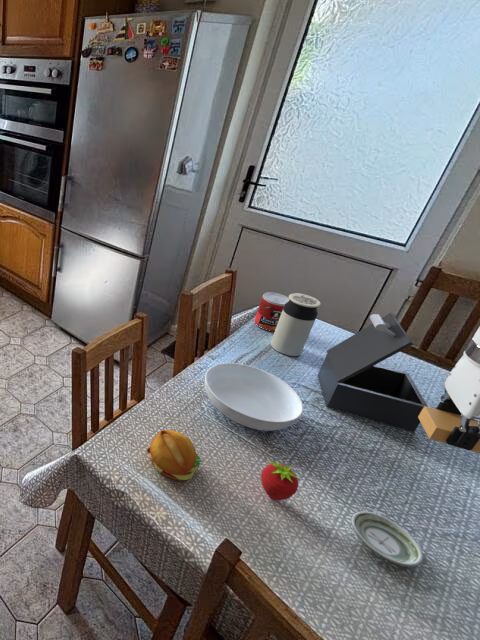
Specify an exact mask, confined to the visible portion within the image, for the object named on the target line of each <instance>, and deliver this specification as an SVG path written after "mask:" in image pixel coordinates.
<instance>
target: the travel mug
mask: <svg viewBox="0 0 480 640" xmlns="http://www.w3.org/2000/svg"><path fill="white" fill-rule="evenodd" d="M288 298H289V301H288V302H287V303H285V305H284V308H283V311H282V313H281V316H280V319H279V321H278V324H277V327H276V329H275V332H273V335H272V337H271V340H270V344H269V345H270V346H271V347H272V349H273V350H275V351H277V352H278V353H281V354H283V355H287V356H290V357H297V356H300V355H302V353H303V350H304V348H305V346H306V344H307V341H308V339H309V336H310V334H311V331H312V329H313V327H314V324H315V323H316V320H317V317H318V314H319V312H318V308H319V307H321V302H320V301H319V300H318V299H317V298H315V297H314V296H311V295H308V294H304V293H297V292H295V293H290V294H289V295H288Z"/></svg>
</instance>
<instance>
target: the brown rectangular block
mask: <svg viewBox="0 0 480 640" xmlns="http://www.w3.org/2000/svg"><path fill="white" fill-rule="evenodd" d="M427 406H428V405H427ZM427 406H424V408H423V409H422V411H421V413H420V414H419V416H418V418H419V420H420V424H421V426H422V428H423V430H424V432H425V433H426V436H427V437H428V439H429V440H431V441H434V442H438V443H441V444H446V445H448V444H447V442H446V440H447V438H448V437H449V435H450V434H451V432H452V431H453V429H454V428H455V426H456V427H459V426H460V422H461V419H462V416H463V414H461V415H458V414H454V413H450V412H446V411H442V410H438V409H436V408H435V407H430V406H428V407H427ZM469 426H477V427H478V426H479V422H477V421H473V420H470V423H469ZM470 451H471V452H474V453H478V454H480V439H479V441H478V442H477V443H476V445H475V446H474V448H473V449H472V450H469V452H470Z"/></svg>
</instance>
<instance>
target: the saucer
mask: <svg viewBox="0 0 480 640" xmlns="http://www.w3.org/2000/svg"><path fill="white" fill-rule="evenodd" d="M350 523H351V527H352V529H353V531H354V533H355V535H356V536H357V537H358V538H359V540H360V541H361V542H362V543H363V544H364V545H365V546H366V547H367V548H369V550H371V551H372V552H373V553H374V554H376V555H377V556H379V557H381V558H383V559H385V560H386V561H389V562H392V563H393V564H396V565H399V566H403V567H417V566H419V565H420V564H421V563H422V562H423V560H424V553H423V551H422V548H421V547H420V545H419V544H418V542H417V541H416V540H415V538H414V537H413V536H412V535H411V534H409V532H408V531H407V530H405V529H404V528H403V527H402V526H400V525H399V524H397V523H396V522H394V521H393V520H391V519H389V518H387V517H386V516H383V515H380V514H379V513H375V512H371V511H363V510H362V511H357V512H355V513H353V515H352V516H351V521H350Z"/></svg>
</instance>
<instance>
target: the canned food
mask: <svg viewBox="0 0 480 640" xmlns="http://www.w3.org/2000/svg"><path fill="white" fill-rule="evenodd" d="M288 301H289V296H286V295H285V294H282V293H278V292H273V291H267V292H264V293H263V295H262V297H261V300H260V303H259V306H258V308H257V311H256V315H255V317H254V324H255V323H256V324H257V325H258V326H260V327H262V328H264V329H267V330H270V331H275V329H276V327H277V324H278V321H279V319H280V316H281V313H282V311H283V308H284V305H285V303H287V302H288ZM256 324H255V325H256ZM257 325H256V326H257ZM258 326H257V327H258ZM270 331H269V332H270Z"/></svg>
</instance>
